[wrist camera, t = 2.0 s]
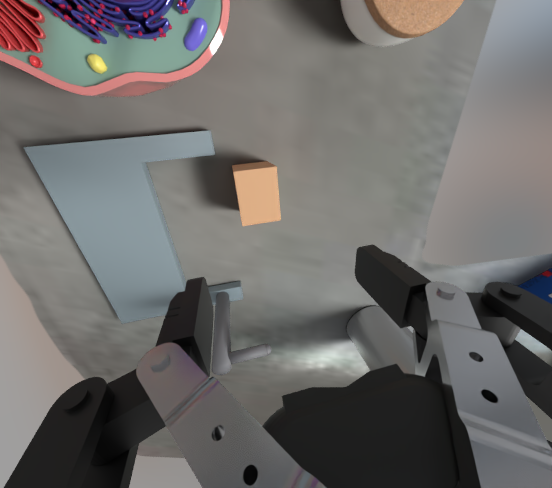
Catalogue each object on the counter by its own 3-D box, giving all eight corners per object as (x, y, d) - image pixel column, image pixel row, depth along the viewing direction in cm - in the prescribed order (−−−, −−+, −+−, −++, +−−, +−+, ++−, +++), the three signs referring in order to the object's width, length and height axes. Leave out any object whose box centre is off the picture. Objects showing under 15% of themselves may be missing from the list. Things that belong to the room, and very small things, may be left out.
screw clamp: (233, 128, 26) (239, 121, 14) (258, 290, 37) (273, 363, 25) (34, 146, 23) (-173, 157, 11) (126, 316, 34) (71, 414, 22)
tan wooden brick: (267, 161, 28) (277, 166, 23) (272, 205, 31) (281, 220, 26) (231, 165, 28) (232, 171, 22) (238, 210, 30) (241, 226, 25)
